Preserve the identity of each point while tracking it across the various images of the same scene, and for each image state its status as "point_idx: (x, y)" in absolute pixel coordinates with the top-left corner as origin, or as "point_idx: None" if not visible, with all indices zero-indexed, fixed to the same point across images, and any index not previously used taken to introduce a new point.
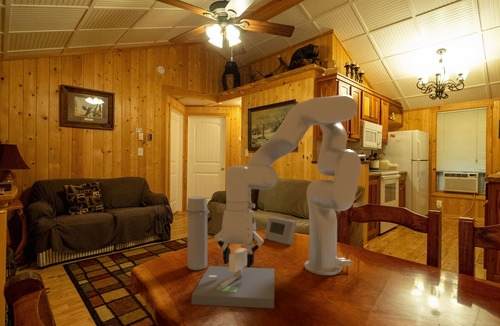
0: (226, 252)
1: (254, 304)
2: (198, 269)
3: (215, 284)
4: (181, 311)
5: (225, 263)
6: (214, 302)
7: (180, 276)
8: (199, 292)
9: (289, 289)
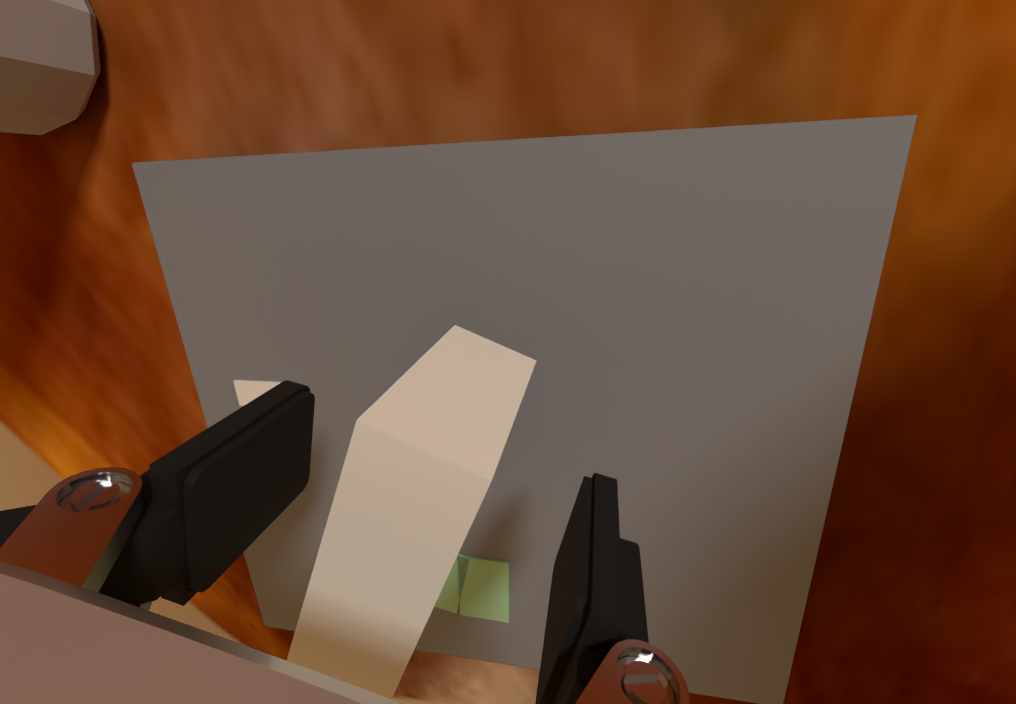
0: (207, 583)
1: None
2: (72, 117)
3: None
4: (285, 631)
5: (297, 489)
6: None
7: (38, 256)
8: (291, 606)
9: (958, 418)
